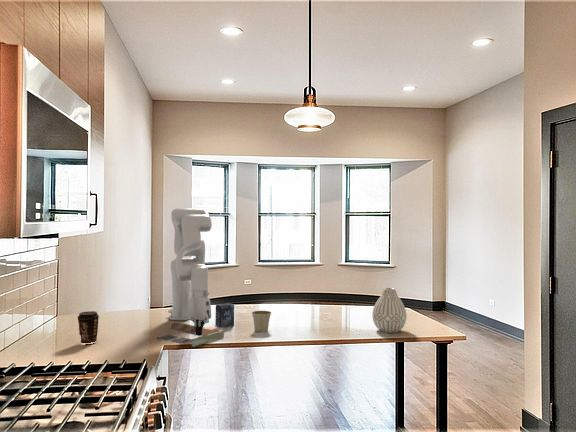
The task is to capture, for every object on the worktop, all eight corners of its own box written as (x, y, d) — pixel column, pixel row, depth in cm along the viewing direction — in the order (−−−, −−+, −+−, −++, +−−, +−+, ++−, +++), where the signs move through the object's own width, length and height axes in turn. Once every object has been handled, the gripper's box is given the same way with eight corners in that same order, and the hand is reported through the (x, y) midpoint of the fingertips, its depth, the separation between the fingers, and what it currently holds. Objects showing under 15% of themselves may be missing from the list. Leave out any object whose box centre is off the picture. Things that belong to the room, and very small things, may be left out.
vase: (412, 334, 232) (412, 291, 232) (378, 335, 229) (379, 291, 229) (398, 326, 248) (399, 285, 248) (367, 327, 245) (367, 286, 245)
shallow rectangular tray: (140, 335, 227) (140, 329, 227) (171, 327, 243) (171, 321, 243) (193, 346, 209) (193, 339, 209) (223, 337, 225) (223, 330, 225)
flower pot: (274, 329, 241) (274, 311, 241) (267, 333, 232) (267, 315, 232) (256, 327, 244) (256, 309, 244) (248, 332, 235) (248, 313, 235)
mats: (156, 338, 223) (156, 337, 223) (168, 335, 229) (168, 334, 229) (180, 343, 215) (180, 342, 215) (192, 339, 220) (192, 339, 220)
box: (220, 327, 244) (220, 306, 244) (215, 325, 248) (215, 304, 248) (234, 325, 248) (234, 304, 248) (229, 323, 253) (229, 302, 253)
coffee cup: (81, 340, 218) (81, 310, 218) (101, 340, 219) (101, 310, 219) (74, 345, 210) (74, 314, 210) (95, 345, 210) (95, 314, 210)
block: (202, 338, 223) (202, 328, 223) (208, 336, 227) (208, 326, 227) (211, 339, 221) (211, 329, 220) (217, 337, 225) (217, 327, 225)
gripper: (217, 294, 224) (217, 335, 224) (193, 291, 232) (193, 331, 232) (205, 296, 218) (205, 339, 218) (181, 293, 226) (181, 334, 226)
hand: (199, 334), depth 225 cm, fingers closed
